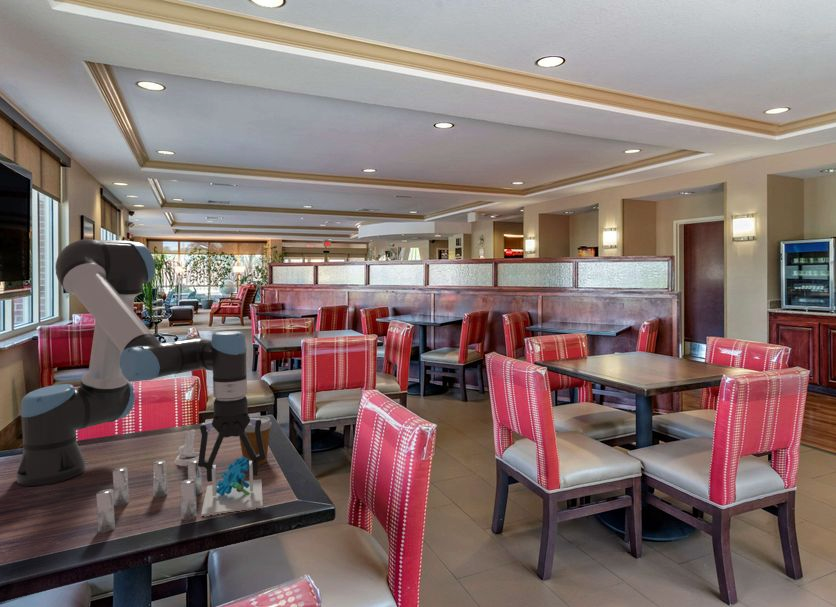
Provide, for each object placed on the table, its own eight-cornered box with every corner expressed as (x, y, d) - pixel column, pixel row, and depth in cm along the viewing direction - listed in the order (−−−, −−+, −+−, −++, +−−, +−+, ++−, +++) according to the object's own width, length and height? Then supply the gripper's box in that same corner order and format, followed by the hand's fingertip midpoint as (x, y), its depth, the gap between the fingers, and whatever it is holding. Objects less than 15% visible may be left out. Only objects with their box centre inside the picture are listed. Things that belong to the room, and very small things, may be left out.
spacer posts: (96, 533, 106) (94, 496, 106) (118, 497, 123) (116, 465, 123) (195, 519, 112) (194, 483, 112) (203, 487, 129) (202, 456, 129)
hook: (190, 453, 139) (174, 437, 141) (183, 480, 145) (168, 464, 147) (214, 440, 145) (197, 424, 147) (206, 466, 151) (190, 450, 153)
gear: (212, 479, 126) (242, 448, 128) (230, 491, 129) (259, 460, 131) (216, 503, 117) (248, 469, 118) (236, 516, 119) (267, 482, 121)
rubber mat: (201, 516, 113) (201, 514, 113) (207, 488, 129) (207, 485, 129) (262, 508, 117) (262, 505, 117) (261, 481, 133) (261, 479, 133)
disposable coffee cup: (244, 455, 151) (243, 415, 151) (276, 455, 151) (275, 415, 150) (232, 468, 142) (230, 425, 141) (266, 468, 141) (265, 425, 141)
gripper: (181, 404, 115) (184, 504, 116) (276, 397, 121) (278, 491, 122) (185, 396, 122) (188, 490, 123) (274, 390, 128) (276, 479, 130)
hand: (233, 491), depth 123 cm, fingers closed on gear, 8 cm apart
